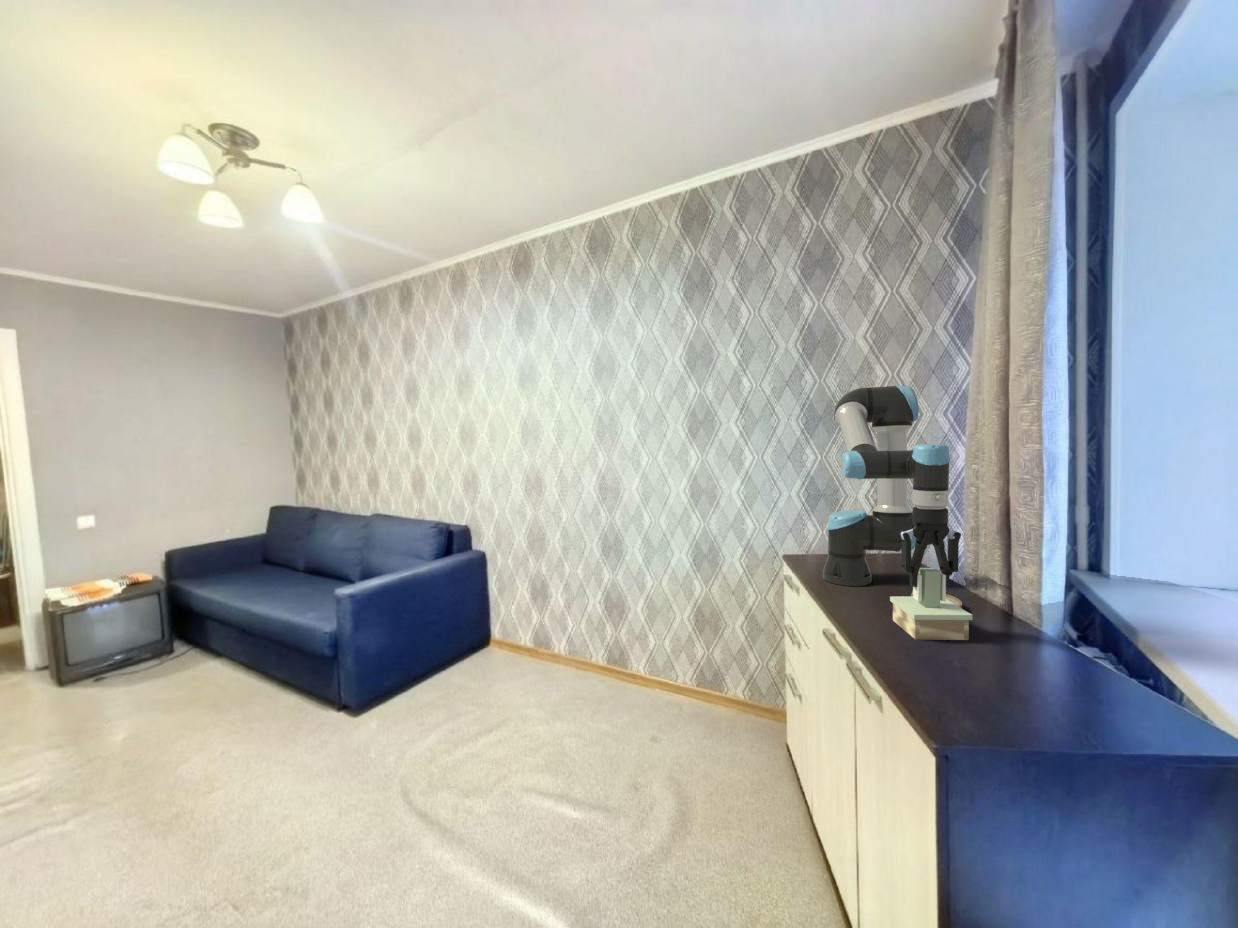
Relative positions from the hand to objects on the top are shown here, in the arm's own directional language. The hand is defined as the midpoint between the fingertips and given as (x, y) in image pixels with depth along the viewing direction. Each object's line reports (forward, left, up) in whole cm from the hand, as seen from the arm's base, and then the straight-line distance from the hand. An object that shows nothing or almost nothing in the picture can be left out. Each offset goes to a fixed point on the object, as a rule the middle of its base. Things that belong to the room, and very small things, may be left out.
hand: (929, 599), depth 124 cm
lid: (0, 0, -3) cm, 3 cm away
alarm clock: (-18, +10, -9) cm, 23 cm away
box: (0, 0, -9) cm, 9 cm away
